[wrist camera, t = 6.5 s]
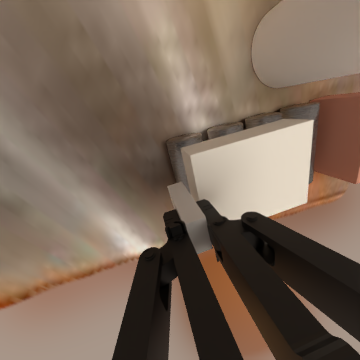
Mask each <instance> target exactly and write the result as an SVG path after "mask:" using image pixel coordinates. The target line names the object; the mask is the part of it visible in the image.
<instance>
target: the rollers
mask: <svg viewBox="0 0 360 360" xmlns="http://www.w3.org/2000/svg"><path fill="white" fill-rule="evenodd" d="M319 108H320V103H319V102H312V103H303V104H297V105H292V106H288V107H284V108H281V109H280V112H272V113H264V114H259V115H255V116H251V117H248V118H246V119H245V126H246V129H249V128H253V127H257V126H260V125H264V124H267V123H271V122H274V121H278V120H281V119H309V120H314V122H313V134H312V147H311V159H310V171H309V183H308V184H310V183H311V182H312V181H313V173H314V162H315V151H316V140H317V129H318V119H319ZM242 130H243V123H241V122H235V123H227V124H222V125H218V126H214V127H211V128H209V129H208V130H207V133H208V139H209V140H210V139H214V138H217V137H221V136H225V135H228V134H232V133H235V132H239V131H242ZM200 142H202V136H201V133H191V134H185V135H181V136H177V137H174V138H171V139H169V140H167V141H166V144H167V148H168V152H169V156H170V160H171V164H172V168H173V171H174V175H175V179H176V183H179V182H182V183H183V184H184V186H185V187H186V189H187V190H188V192H189V193H190V189H189V184H188V180H187V176H186V171H185V167H184V162H183V158H182V153H181V149H180V148H182V147H185V146H189V145H193V144H196V143H200ZM190 194H191V193H190Z"/></svg>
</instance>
